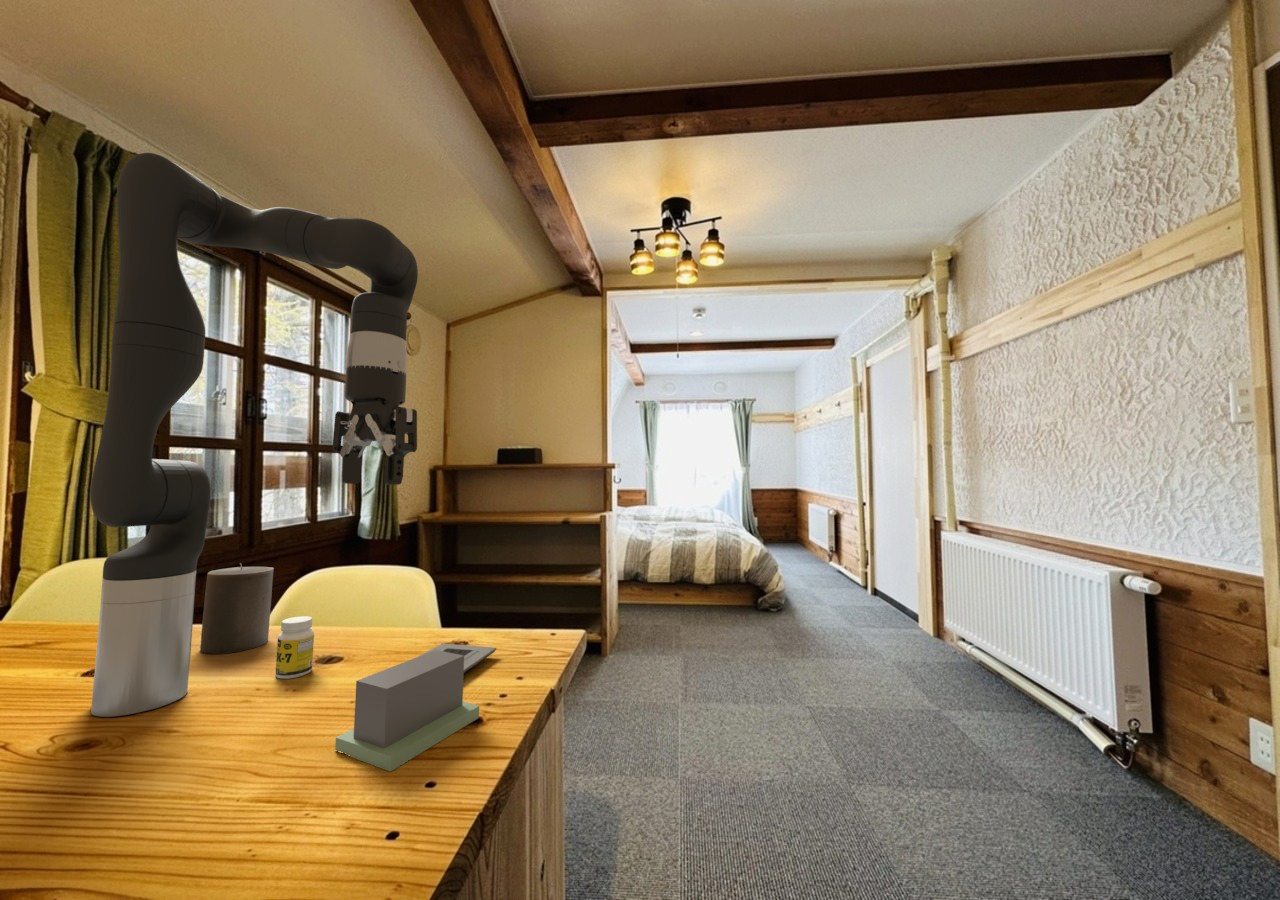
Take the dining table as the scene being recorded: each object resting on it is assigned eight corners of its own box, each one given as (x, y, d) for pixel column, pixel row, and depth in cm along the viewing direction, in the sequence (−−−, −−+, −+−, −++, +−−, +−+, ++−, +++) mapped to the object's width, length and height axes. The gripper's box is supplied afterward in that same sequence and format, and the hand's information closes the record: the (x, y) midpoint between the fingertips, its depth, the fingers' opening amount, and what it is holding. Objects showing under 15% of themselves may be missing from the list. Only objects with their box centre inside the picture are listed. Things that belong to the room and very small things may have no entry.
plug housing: (353, 738, 55) (356, 680, 55) (434, 697, 65) (436, 649, 65) (384, 748, 53) (386, 688, 53) (462, 705, 63) (464, 655, 63)
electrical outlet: (453, 691, 72) (453, 674, 72) (390, 685, 74) (391, 669, 74) (496, 660, 84) (496, 646, 85) (441, 655, 86) (442, 641, 87)
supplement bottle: (268, 676, 75) (271, 621, 76) (299, 666, 80) (302, 614, 80) (288, 681, 73) (291, 625, 74) (319, 670, 78) (321, 617, 78)
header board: (335, 751, 55) (337, 701, 55) (428, 704, 66) (429, 662, 67) (390, 771, 51) (392, 717, 51) (478, 717, 63) (480, 674, 63)
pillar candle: (211, 658, 83) (218, 569, 84) (192, 647, 88) (199, 563, 89) (277, 643, 91) (283, 562, 92) (256, 634, 96) (262, 557, 97)
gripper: (318, 368, 68) (311, 483, 67) (388, 358, 62) (382, 484, 61) (367, 378, 75) (362, 483, 74) (435, 371, 69) (430, 484, 68)
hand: (371, 484), depth 68 cm, fingers open, 8 cm apart
